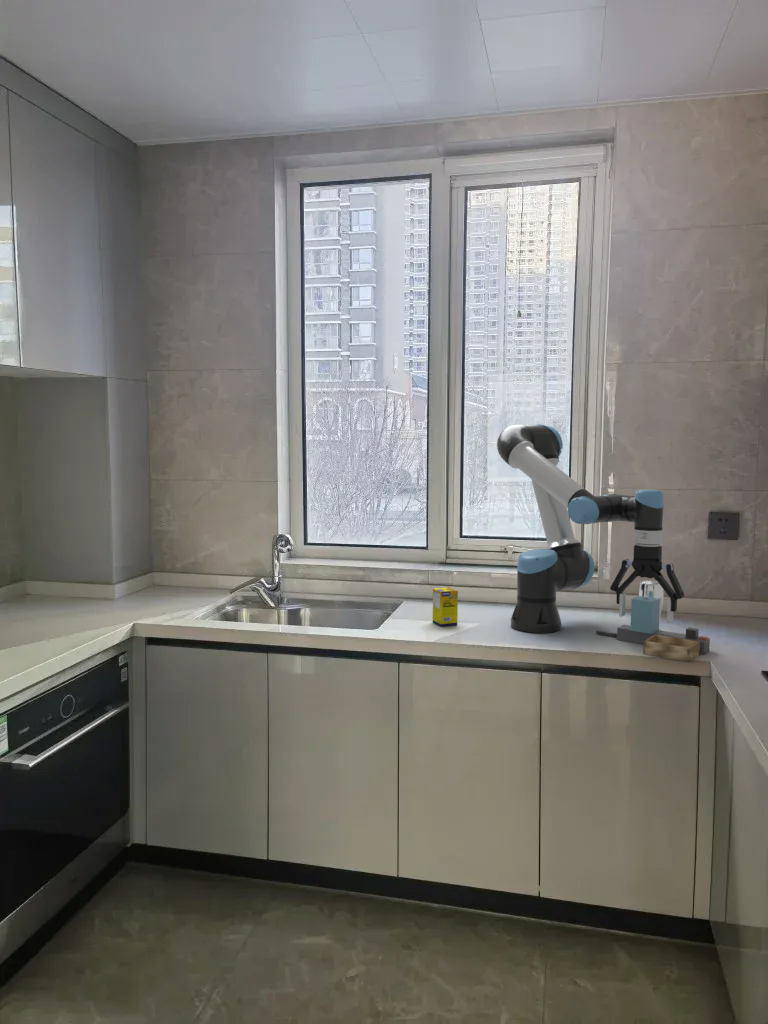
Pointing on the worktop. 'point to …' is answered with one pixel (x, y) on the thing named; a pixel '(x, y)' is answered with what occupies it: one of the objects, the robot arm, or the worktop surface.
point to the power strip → (640, 637)
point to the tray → (671, 648)
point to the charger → (645, 614)
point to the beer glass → (652, 591)
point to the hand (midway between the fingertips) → (645, 619)
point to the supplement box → (445, 606)
